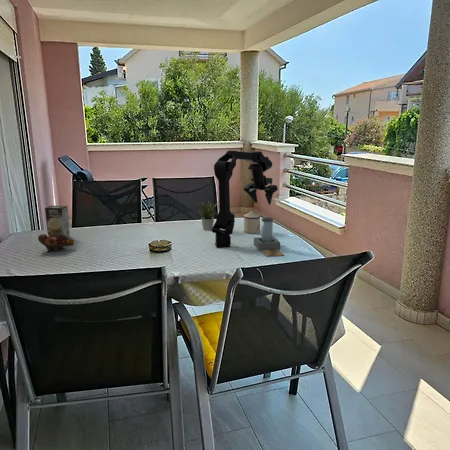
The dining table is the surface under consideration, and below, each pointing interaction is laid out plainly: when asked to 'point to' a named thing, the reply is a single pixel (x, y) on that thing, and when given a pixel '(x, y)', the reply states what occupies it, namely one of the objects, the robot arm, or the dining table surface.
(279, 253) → the mat
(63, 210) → the coffee box
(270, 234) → the ball
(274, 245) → the frame
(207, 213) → the house plant
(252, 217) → the teacup with lid
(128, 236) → the dining table surface
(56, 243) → the decorative turtle
